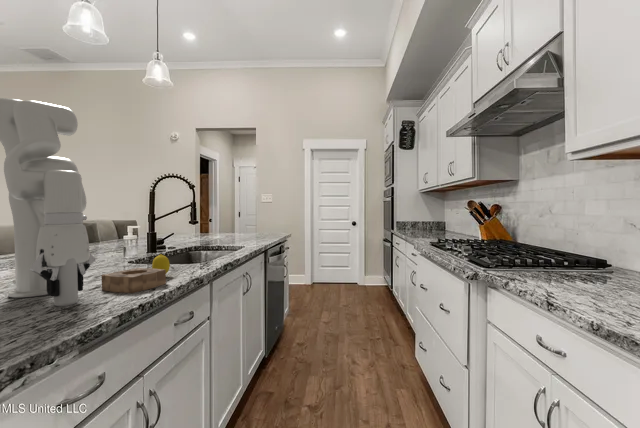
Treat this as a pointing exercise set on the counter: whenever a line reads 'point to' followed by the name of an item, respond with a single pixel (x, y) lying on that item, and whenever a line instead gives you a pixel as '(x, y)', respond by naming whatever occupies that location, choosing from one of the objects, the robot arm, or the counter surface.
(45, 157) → the robot arm
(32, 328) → the counter surface
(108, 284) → the socket block
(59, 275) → the beverage can
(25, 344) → the counter surface
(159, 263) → the lemon
